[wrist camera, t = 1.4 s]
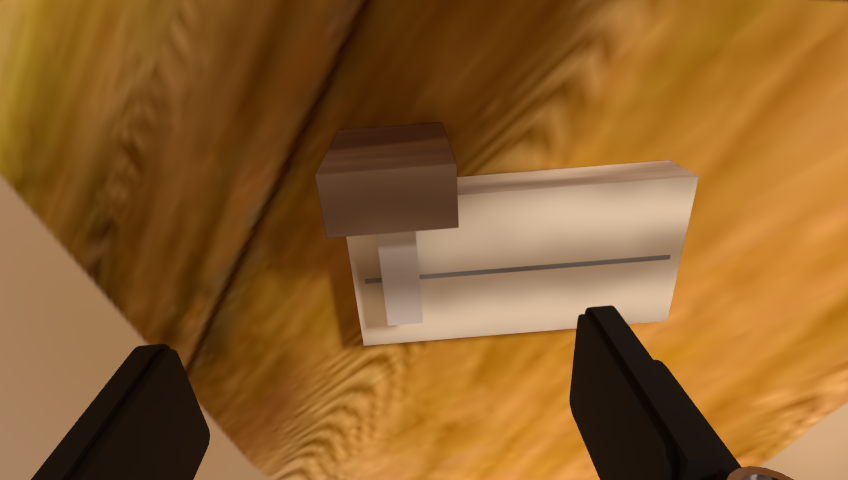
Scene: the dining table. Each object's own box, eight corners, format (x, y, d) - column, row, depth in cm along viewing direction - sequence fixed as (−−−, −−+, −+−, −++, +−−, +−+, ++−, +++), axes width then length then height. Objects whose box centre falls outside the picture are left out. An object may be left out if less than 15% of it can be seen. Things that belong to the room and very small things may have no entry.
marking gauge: (338, 130, 26) (315, 175, 19) (441, 122, 26) (456, 163, 19) (360, 276, 31) (348, 357, 24) (448, 269, 31) (462, 348, 24)
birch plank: (346, 185, 28) (340, 204, 25) (670, 160, 28) (699, 176, 25) (366, 317, 32) (363, 346, 30) (645, 295, 32) (667, 321, 30)
